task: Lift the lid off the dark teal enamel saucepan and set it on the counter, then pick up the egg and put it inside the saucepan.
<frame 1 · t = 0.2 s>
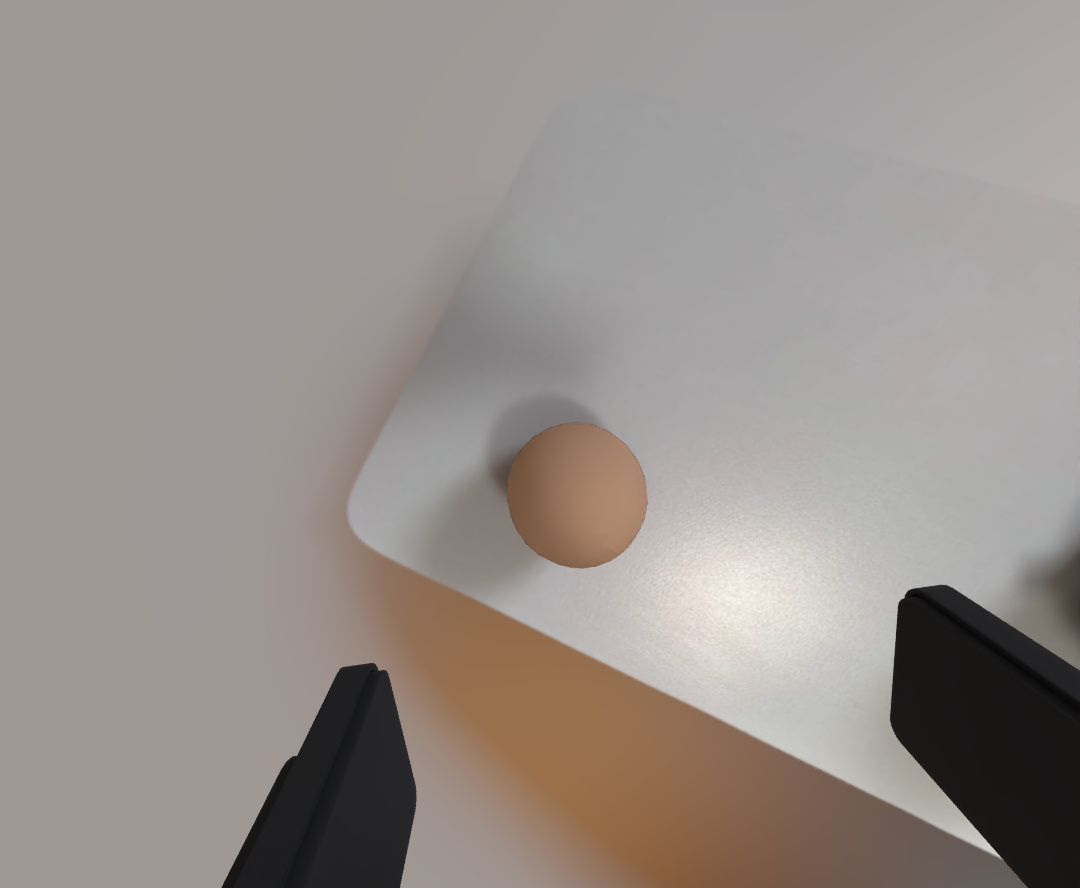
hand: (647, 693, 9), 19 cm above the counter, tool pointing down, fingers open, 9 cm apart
egg: (567, 466, 28), on the counter
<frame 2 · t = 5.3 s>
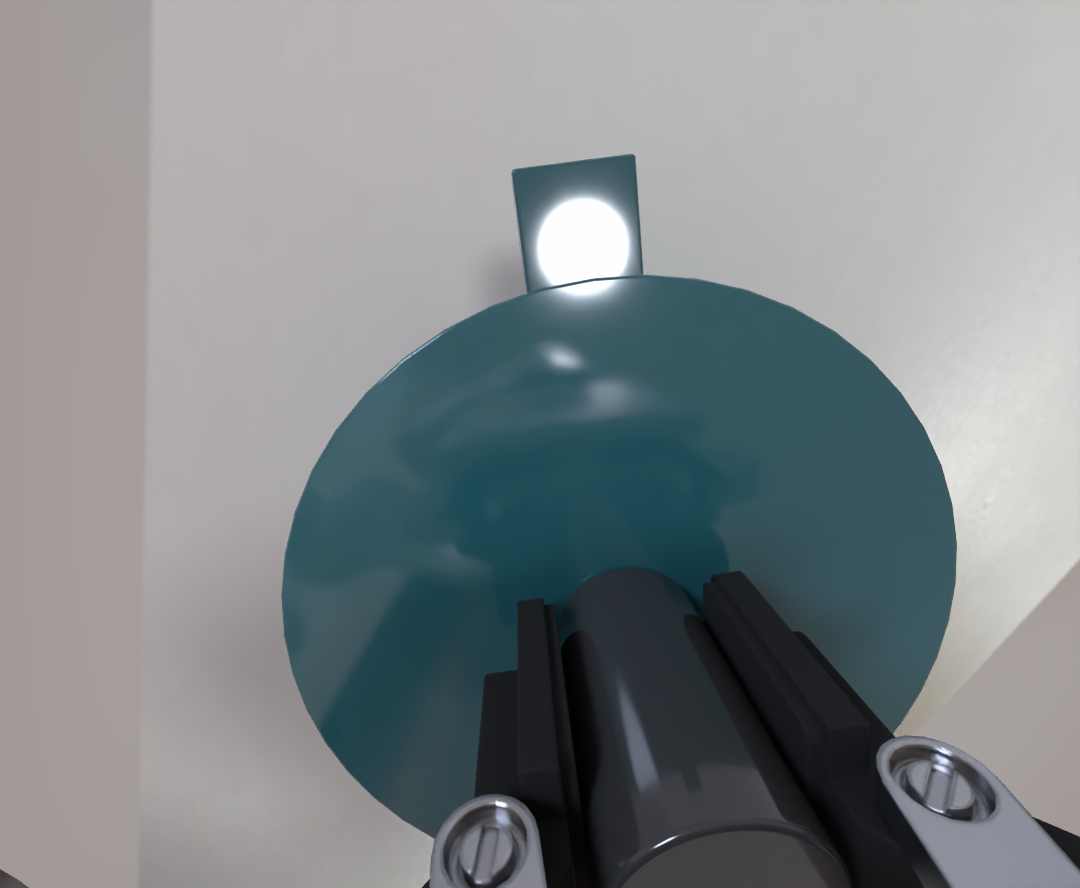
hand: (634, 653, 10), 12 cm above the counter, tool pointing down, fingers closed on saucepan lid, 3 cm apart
saucepan lid: (621, 614, 12), point 11 cm above the counter, touching gripper, saucepan
saucepan: (572, 469, 22), on the counter
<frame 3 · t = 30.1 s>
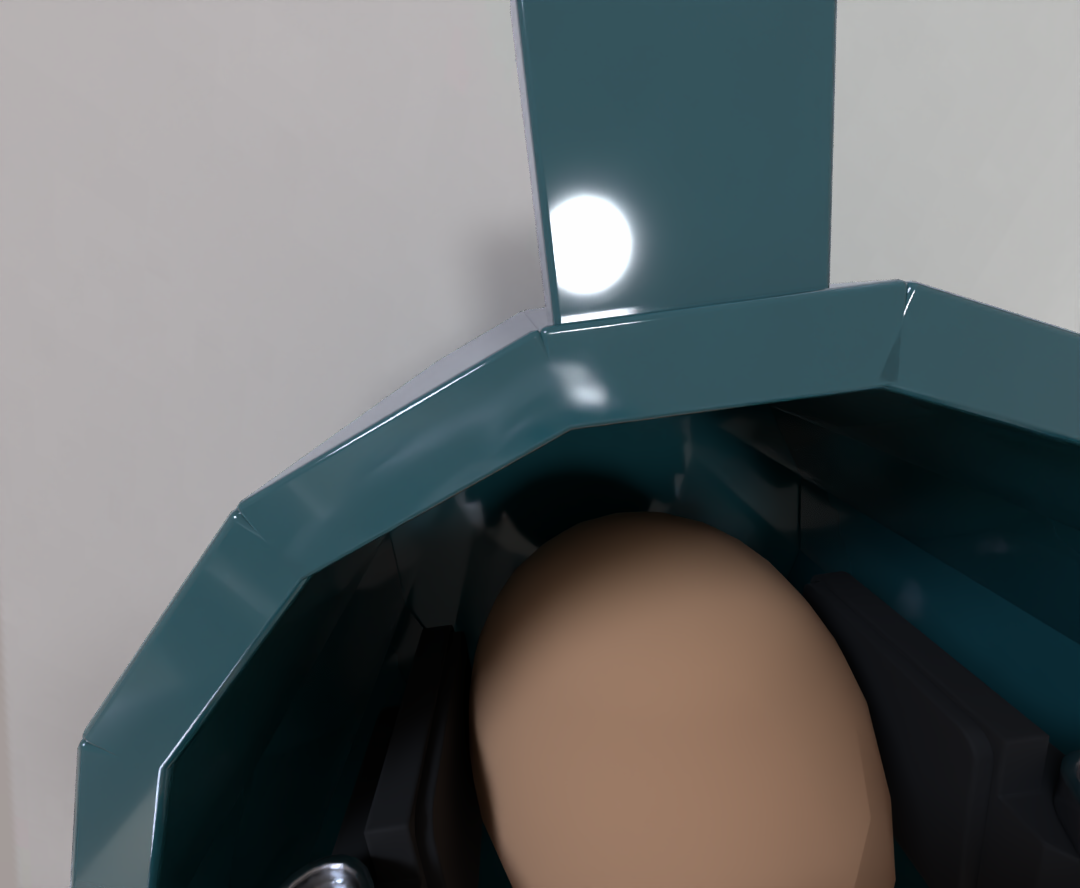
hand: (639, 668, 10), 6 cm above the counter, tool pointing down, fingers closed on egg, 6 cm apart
egg: (610, 581, 13), point 3 cm above the counter, touching gripper
saucepan: (596, 532, 16), on the counter
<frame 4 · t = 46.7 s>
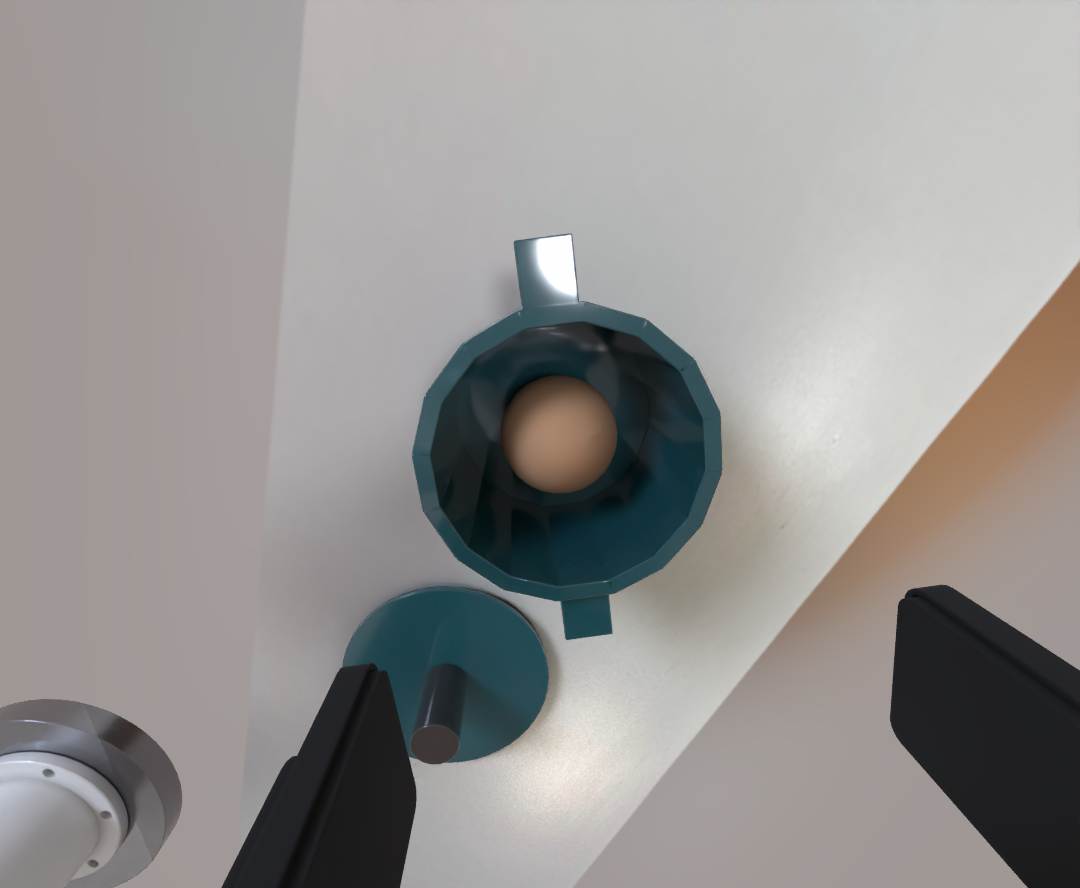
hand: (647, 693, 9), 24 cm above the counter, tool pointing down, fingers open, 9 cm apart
saucepan lid: (447, 676, 37), point 1 cm above the counter
egg: (553, 418, 32), resting on saucepan
saucepan: (553, 414, 33), on the counter
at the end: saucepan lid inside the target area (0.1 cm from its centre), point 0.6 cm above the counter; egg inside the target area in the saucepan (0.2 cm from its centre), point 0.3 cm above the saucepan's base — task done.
